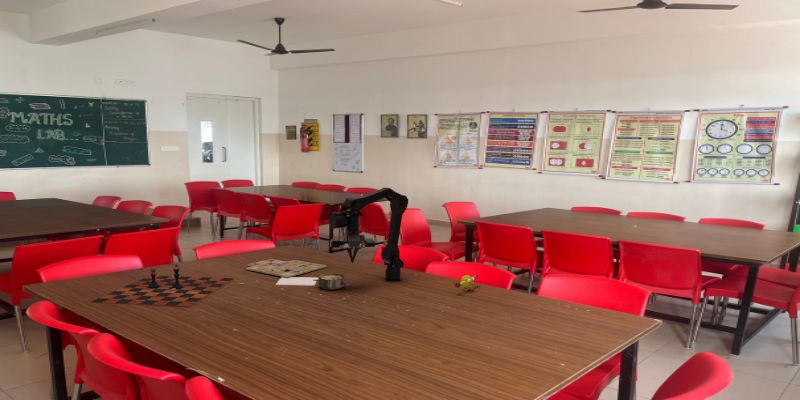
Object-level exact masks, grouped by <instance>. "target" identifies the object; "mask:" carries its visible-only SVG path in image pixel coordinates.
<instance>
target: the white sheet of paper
mask: <svg viewBox="0 0 800 400" xmlns="http://www.w3.org/2000/svg"><path fill="white" fill-rule="evenodd" d="M318 279H319V277H308V276H307V277H306V276H304V277H299V276H298V277H297V276H292V277H288V278H286V277H281V276H280V278H279V280H278V281H277V282H276V284H275V286H301V287H302V286H306V287H308V286H309V287H310V286H311V287H315V286H316V285H317V283H318V281H313V280H318Z"/></svg>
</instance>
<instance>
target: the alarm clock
mask: <svg viewBox="0 0 800 400" xmlns="http://www.w3.org/2000/svg"><path fill="white" fill-rule="evenodd" d="M318 278H319V279H318V280H313V281H317V282H318V287H320V288H321V289H323V290H329V291H330V290H339V289H341V288H343V287H344V286H349V285H351V282H349V281H348V282H345V276H344V274H340V273H331V272H329V273H323V274H321V275H319V276H318Z"/></svg>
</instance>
